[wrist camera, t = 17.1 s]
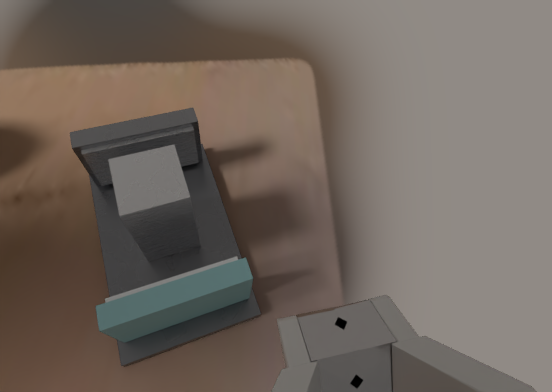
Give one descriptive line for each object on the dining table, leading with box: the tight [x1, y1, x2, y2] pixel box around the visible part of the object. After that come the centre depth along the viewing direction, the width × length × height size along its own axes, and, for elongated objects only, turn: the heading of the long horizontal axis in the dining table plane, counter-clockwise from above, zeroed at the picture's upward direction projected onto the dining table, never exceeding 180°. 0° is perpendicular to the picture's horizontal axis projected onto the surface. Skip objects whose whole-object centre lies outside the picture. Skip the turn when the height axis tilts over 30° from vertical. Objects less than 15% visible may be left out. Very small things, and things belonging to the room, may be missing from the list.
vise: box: [70, 108, 261, 367], centre depth 29 cm, size 18×11×7 cm, turn 21°
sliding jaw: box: [96, 256, 253, 343], centre depth 26 cm, size 2×10×6 cm, turn 111°
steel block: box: [108, 145, 201, 262], centre depth 28 cm, size 4×4×9 cm
